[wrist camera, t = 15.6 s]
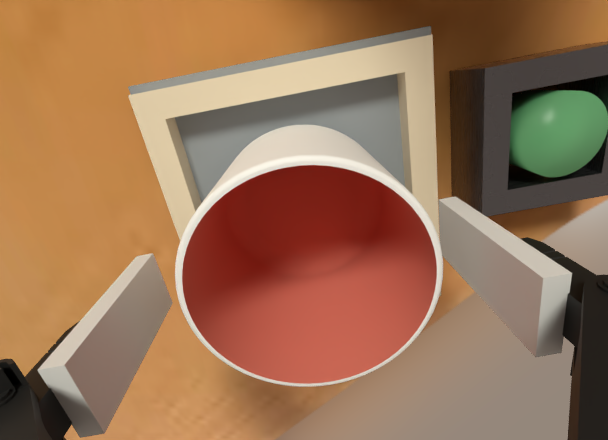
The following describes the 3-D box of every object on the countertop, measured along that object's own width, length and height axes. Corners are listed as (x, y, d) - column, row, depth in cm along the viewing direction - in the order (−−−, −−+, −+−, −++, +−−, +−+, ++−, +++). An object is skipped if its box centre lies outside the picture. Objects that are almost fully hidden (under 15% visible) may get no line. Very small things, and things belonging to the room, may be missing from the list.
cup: (380, 114, 20) (456, 143, 11) (379, 263, 24) (435, 378, 14) (212, 129, 20) (142, 169, 11) (237, 274, 24) (202, 397, 14)
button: (487, 169, 21) (519, 183, 18) (489, 97, 20) (524, 99, 17) (558, 156, 21) (601, 169, 18) (566, 82, 20) (615, 82, 17)
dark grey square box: (451, 195, 23) (482, 217, 20) (449, 70, 20) (485, 68, 17) (569, 174, 23) (623, 192, 19) (585, 44, 20) (652, 35, 16)
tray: (216, 316, 26) (208, 340, 24) (137, 86, 20) (114, 87, 18) (433, 279, 26) (448, 300, 23) (423, 29, 19) (442, 21, 17)
